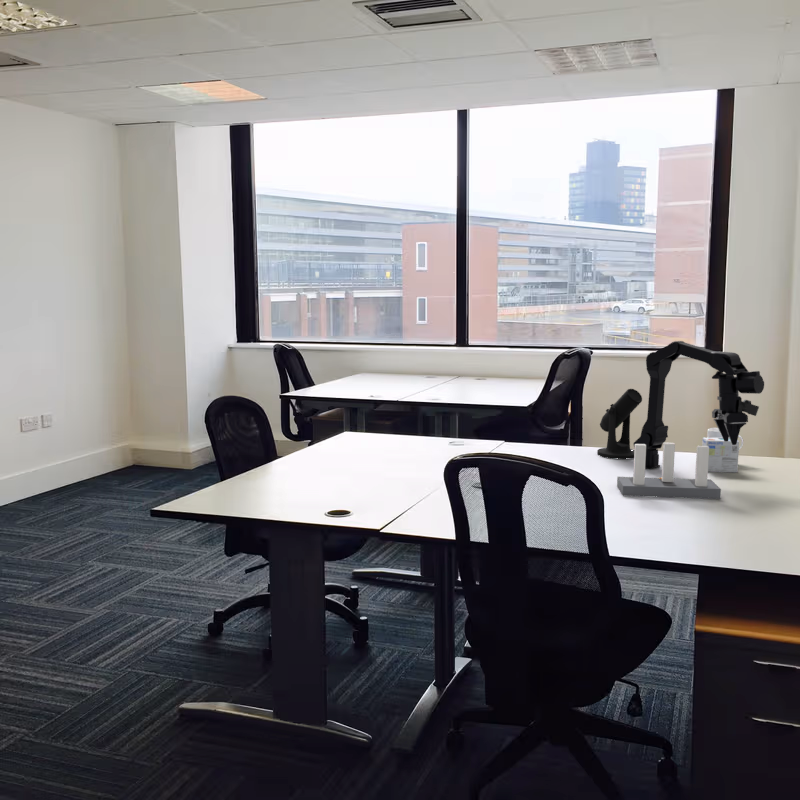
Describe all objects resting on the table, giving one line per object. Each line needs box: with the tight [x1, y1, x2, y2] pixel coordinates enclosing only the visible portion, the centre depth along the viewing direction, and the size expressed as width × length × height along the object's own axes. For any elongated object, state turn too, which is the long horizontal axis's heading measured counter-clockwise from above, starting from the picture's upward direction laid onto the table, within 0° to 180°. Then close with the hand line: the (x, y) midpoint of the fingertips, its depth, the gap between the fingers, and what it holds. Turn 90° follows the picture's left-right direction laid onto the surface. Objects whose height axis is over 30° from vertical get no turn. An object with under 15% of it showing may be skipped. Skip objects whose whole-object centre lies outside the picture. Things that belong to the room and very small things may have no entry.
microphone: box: [597, 388, 643, 460], centre depth 305 cm, size 15×17×25 cm
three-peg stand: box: [616, 444, 722, 500], centre depth 252 cm, size 12×28×15 cm, turn 83°
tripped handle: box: [661, 441, 676, 482], centre depth 253 cm, size 2×3×12 cm, turn 83°
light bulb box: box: [701, 437, 740, 473], centre depth 283 cm, size 11×7×11 cm, turn 84°
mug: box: [706, 427, 744, 450], centre depth 295 cm, size 12×8×11 cm
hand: (730, 443), depth 262 cm, fingers open, 9 cm apart
